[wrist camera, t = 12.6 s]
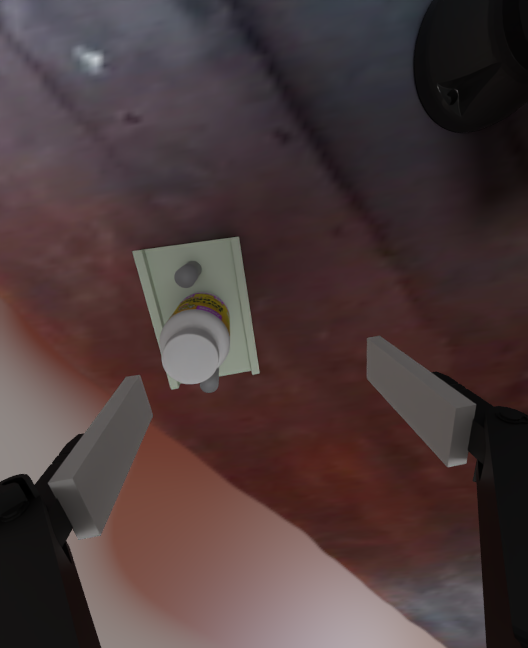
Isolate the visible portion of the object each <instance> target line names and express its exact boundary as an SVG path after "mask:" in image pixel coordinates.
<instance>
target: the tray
mask: <svg viewBox="0 0 528 648" xmlns="http://www.w3.org/2000/svg"><path fill="white" fill-rule="evenodd" d="M132 252H133V256H134V260H135V263H136V267H137V270H138V274H139V277H140V281H141V284H142V288H143V291H144V295H145V299H146V302H147V306H148V309H149V313H150V316H151V320H152V323H153V327H154V330H155V334H156V338H157V341H158V345H159V348H160V344H159V341H160V334H161V331H162V329H163V327H164V325H165V324H166V322H167V321H168V320H169V318H170V317H171V316H172V314H173V313H174V311H175V310H176V309H177V307H178V306H179V304H180V303H181V302H182V301H183V300H184V299H185V298H186V297H187V296H189V295H191V294H194V293H198V292H207V293H211V294H214V295H216V296H218V297H219V298H220V299H221V300H223V302H224V303H225V304H226V306H227V308H228V310H229V314H230V349H229V353H228V355H227V357H226V359H225V361H224V362H223V363H222V364H221V365H220V366H219V367H218V368H217V369H216V371H215V372H214V374H213V375H212V376H211V377H210V378H209V379H207V380H205V381H203V382H201V383H200V387H201V389H202V390H203V391H204V392H207V393H211V392H214V391H215V390H216V389H217V388H218V382H219V376H224V375H230V374H235V373H241V372H246V371H252V375H254V374H259V366H258V359H257V353H256V346H255V340H254V333H253V326H252V320H251V313H250V307H249V300H248V293H247V287H246V280H245V273H244V267H243V260H242V254H241V247H240V240H239V237H232V238H224V239H217V240H210V241H202V242H195V243H188V244H180V245H173V246H166V247H158V248H151V249H144V250H137V251H132ZM160 352H161V350H160ZM161 355H162V354H161ZM166 373H167V372H166ZM167 377H168V380H169V384H170V387H171V389H177V388H179V386H180V383H181V382H178V381H176V380H174V379H173V378H171V377H170V376H169V375H168V374H167Z"/></svg>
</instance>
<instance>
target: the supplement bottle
mask: <svg viewBox="0 0 528 648" xmlns="http://www.w3.org/2000/svg"><path fill="white" fill-rule="evenodd" d="M159 344H160V350H161V354H162V364H163V367H164V369H165V371H166V372H167V374H168V375H169V376H170V377H171V378H173V379H174V380H176V381H178V382H181V383H185V384H197V383H201V382H203V381H205V380H207V379H209V378H210V377H211V376H212V375H213V374H214V372H215V371H216V369H217V368H218V367H219V366H220V365H221V364H222V363H223V362H224V361H225V359H226V357H227V355H228V353H229V349H230V314H229V310H228V308H227V306H226V304H225V303H224V302H223V300H221V299H220V298H219V297H218V296H216V295H214V294H211V293H207V292H198V293H194V294H191V295H189V296H187V297H186V298H185V299H184V300H183V301H182V302H181V303H180V304H179V306H178V307H177V309H176V310H175V311H174V313H173V314H172V316H171V317H170V318H169V320H168V321H167V322H166V324H165V325H164V327H163V329H162V331H161V334H160V341H159Z"/></svg>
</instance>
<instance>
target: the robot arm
mask: <svg viewBox="0 0 528 648" xmlns="http://www.w3.org/2000/svg"><path fill="white" fill-rule="evenodd" d="M414 69H415V80H416V86H417V90H418V94H419V97H420V99H421V102H422V104H423V106H424V108H425V110H426V111H427V113H428V114H429V115H430V117H431V118H432V119H433V120H434V121H435V122H436V123H438V124H439V125H440V126H442V127H443V128H445V129H448V130H450V131H454V132H460V133H466V132H473V131H477V130H480V129H482V128H485V127H487V126H489V125H492V124H494V123H497V122H499V121H501V120H503V119H504V118H506V117H508V116H509V115H511V114H512V113H513V112H515V111H516V110H517V109H518V108H520V107H521V106H522V105H523V104H525V103H526V102H527V101H528V0H433V2H432V3H431V5H430V7H429V8H428V11H427V13H426V15H425V17H424V19H423V22H422V25H421V28H420V31H419V34H418V39H417V43H416V50H415V60H414ZM367 379H368V380H369V381H370V383H371V384H372V385H373V386H374V387H375V388H376V389H377V390H378V391H379V392H380V394H381V395H382V396H383V397H384V398H385V399H386V400H387V401H388V402H389V403H390V405H391V406H392V407H393V408H394V409H395V410H396V411H397V412H398V413H399V414H400V416H401V417H402V418H403V419H404V420H405V421H406V422H407V423H408V424H409V425H410V426H411V428H412V429H413V430H414V431H415V432H416V433H417V434H418V435H419V436H420V437H421V439H422V440H423V441H424V442H425V443H426V444H427V445H428V446H429V447H430V448H431V450H432V451H433V452H434V453H435V454H436V455H437V456H438V457H439V458H440V459H441V461H442V462H443V463H444V464H445V465H446V466H447V467H451V466H456V465H461V464H466V462H467V456H468V451H469V452H470V453H471V454H472V455H473V456H474V457H475V458H476V459H477V462H476V467H475V472H474V477H473V481H474V482H477V497H478V514H479V531H480V547H481V564H482V580H483V597H484V614H485V630H486V647H487V648H528V416H527V415H526V414H524V413H522V412H520V411H518V410H515V409H512V408H508V407H501V406H496V407H493V406H492V405H491V404H489V403H488V402H486V401H485V400H483V399H482V398H480V397H479V396H477V395H476V394H474V393H473V392H471V391H470V390H468V389H466V388H465V387H464V386H462V385H461V384H458V382H456V381H455V380H453V379H452V378H450V377H449V376H446V375H444V374H441V373H439V372H430V371H428V370H427V369H426V368H424V367H423V366H421V365H420V364H419V363H417V362H416V361H414V360H413V359H412V358H410V357H409V356H407V355H406V354H404V353H403V352H402V351H400V350H399V349H397V348H396V347H395V346H393V345H392V344H390V343H389V342H388V341H386V340H385V339H383V338H382V337H381V336H376V337H370V338H367ZM152 417H153V414H152V411H151V407H150V404H149V401H148V398H147V395H146V392H145V389H144V386H143V383H142V380H141V377H140V375H136V376H130V377H126V378H125V379H124V380H123V382H122V383H121V385H120V386H119V387H118V389H117V390H116V391H115V393H114V394H113V395H112V397H111V398H110V399H109V401H108V402H107V403H106V405H105V406H104V408H103V409H102V410H101V412H100V413H99V414H98V416H97V417H96V418H95V420H94V421H93V422H92V424H91V425H90V427H89V428H88V429H87V431H86V432H85V433H84V434H78V435H77V436H76V437H75V438H74V439H72V440H71V441H70V442H69V443H67V444H66V446H65V447H64V448H63V449H62V451H61V452H60V453H59V456H57V457H56V458H55V460H54V461H53V462H52V464H51V465H50V466H49V467H48V468H47V470H46V471H45V472H44V474H43V475H42V476H41V477H40V479H39V480H38V481H37V482H36V484H35V485H34V484H33V482H32V480H31V478H30V477H29V476H28V475H27V474H19V475H15V476H12V477H9V478H7V479H5V480H3V481H1V482H0V648H101V646H100V642H99V639H98V636H97V633H96V630H95V627H94V624H93V621H92V617H91V614H90V611H89V608H88V604H87V601H86V598H85V595H84V592H83V589H82V586H81V582H80V579H79V576H78V573H77V570H76V567H75V563H74V561H73V557H72V554H71V551H70V548H69V545H68V544H67V542H66V540H67V538H68V536H69V534H70V532H71V531H72V529H73V531H74V532H75V534H76V536H77V538H78V540H80V539H86V538H91V537H96V536H101V533H102V531H103V529H104V527H105V524H106V522H107V520H108V517H109V515H110V513H111V511H112V508H113V506H114V504H115V501H116V499H117V497H118V494H119V492H120V490H121V488H122V485H123V483H124V481H125V478H126V476H127V474H128V472H129V469H130V467H131V465H132V463H133V460H134V458H135V455H136V453H137V451H138V449H139V446H140V444H141V442H142V440H143V437H144V435H145V433H146V430H147V428H148V426H149V424H150V421H151V419H152Z"/></svg>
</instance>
